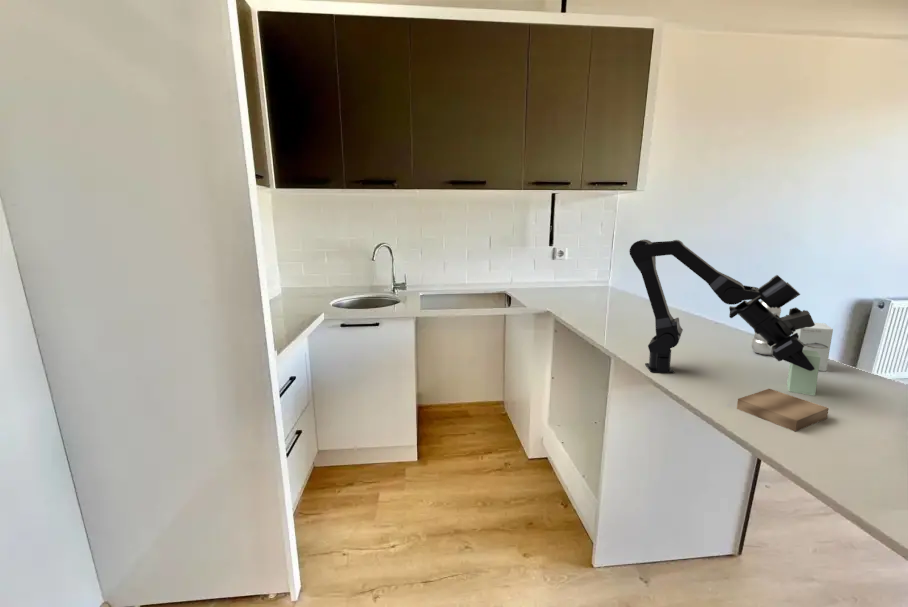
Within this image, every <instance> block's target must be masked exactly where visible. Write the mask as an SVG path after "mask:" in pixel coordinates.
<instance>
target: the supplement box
mask: <svg viewBox="0 0 908 607" xmlns="http://www.w3.org/2000/svg"><path fill="white" fill-rule="evenodd" d="M814 324H815V325H814V326H812V327H805V328H801V329H797V330H796V331H795V332H794V333H793V334H795V333H798V335H799V338H798V339H799V340H800V341H801V342H803V344H804V348H803V350H808V351H817V352H818V354H819V356H820V357H821V358H820V364H819V371H821V372H827V369H828V365H829V364H828V363H829V357H830V352H831V351H830V349H831V344H832V338H833V331H834V328H832V327H831V326H829V325H828V324H827V323H824V322H822V323H821V322H814ZM793 334H792V335H793ZM819 371H818V372H819Z"/></svg>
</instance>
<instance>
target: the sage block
mask: <svg viewBox="0 0 908 607" xmlns="http://www.w3.org/2000/svg"><path fill="white" fill-rule="evenodd" d="M802 352H803V353H804V354H805V356H806V357H807V359H808V360H809V361H810V363H811V364H812V365H813V367H814V368H815V369H814V370H812V371H809V370H807V369H804V368H802V367H799V366H797V365H795V364H792V363H790V362H789V366H788V372H787V373H788V374H787V381H786V387H787V390H788V391H789V392H790V393H795V394H803V395H810V396H816V390H817V384H818V377H819V376H818V375H819V364H820V358H821V357H820V356H819V354H818V352H817V351H808V350H803V351H802Z"/></svg>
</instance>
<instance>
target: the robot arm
mask: <svg viewBox="0 0 908 607" xmlns="http://www.w3.org/2000/svg"><path fill="white" fill-rule="evenodd" d="M628 252H629V255H630V257H631V260H632V261H633V263H634V265H635V267H637V269H638V270H639V272H640V274H641V277H642V280H643V283H644V287H645V288H646V289H645V290H646V293H647V296H648V299H649V302H650V303H649V304H650V305H651V309H652V312H653V315H654V319H655V323H654V324H655V335H654V336H653V337H651V340H650V342H649V344H648V345H647V347H648V351H649V357H648V358H649V359H648V363H647V362H646V363H644V365H645V367H646V368H647V369H648V371H649V372H650V373H665V372H674V373H675V370H674V369H673V368H672V367H671V360H672V348H675V347H676V346H677V345H678V344H679V342H680V341H681V340H680V339H681V337H682V333H683V332H684V331H683V330H684V329H683V328H682V326H681V324H680V318H679V317H675V318H674V317H673V316H672V314H671V313H670V309H669V306H668V303H667V300H666V297H665V293H664V289H663V287H662V284H661V281H660V277H659V275H658V271H657V263H656V262H657V260H656V257H663V256H673V257H674V258H676V259H677V260H678V261H679V262H680V263H682V264H683V265H684V266H685V267H687V268H688V269H689V270H690V271H692V272H693V273H694V274H696V275H697V276H698V277H699V278H701V279H702V280H703V281H704V282H706V284H707V285H708V286H709V287H710V288H711V290H712V291H713V293H715V295H716V296H717V297H718V298H719V299H720V301H722V302H723V304H724V303H725V305H736V306H729V308H728V309H729V315H728V316H729V318H730V319H733V318H735V317H736V316H737V315H738V316H740V318H742V320H744V321H745V323H746V324H747V325H749V326H750V327H751V328H752V329H753V330H754V333H755V332H756V333H757V334H759V335H760V336H761V337H763V338H764V339H765V340H766V341H767V344H768V345H769V346H770V347H771V346H772V345H774V344H776V345H774V346H772V351H771V352H772V356H773V357H774V358H775V359H776V361H778V362H780V361H785V362H787V363H789V364H790V363H792V364H795V365H797V366H799V367H802V368H804V369H807V370H809V371H812V370H814V369H815V368H814V367H813V365H812V364H811V363H810V361H809V360H808V359H807V357H806V356H805V354H804V353H803V352H802V351H803V348H804V344H803V342H801V341H800V340H799V339H798V338H799V335H798V333H795V334H793V333H794V332H795V331H796V330H797V329H801V328H805V327H812V326H814V325H815V324H814V323H815V321H814V320H813V317H812V316H811V314H810V312H809V311H808V310H805V309H803V310H801V309H799V308H798V307H791V308H790V309H789V312H788V314H786V315H785V316H780V317H779V316H778V315H777V314H776V315H775V314H773V313H771V312H770V311H769V310H768V309H767V308H766V307H765V306H764V305H763V304H762V303H761V301H763V302H764V303H765V304H766V305H767V306H769V307H770V308H772V307H773V308H775V307H777V308H778V309H779V308H782V307H783V306H785V305H787V304H788V303H790V302H791V301H793V300H794V299H796V298H798V297H799V296H800V295H801V293H800V292H799V291H798V290H797V289H796V288H794V287H793V286H792V285H791V284H790V283H789V282H787V281H786V280H784V279H783V278H781V276H780V275H778V274H776V275H774V276H773V277H771V279H770V280H769V281H767V282H766V283H764V284H763V285H760V287H755V286H750V285H744V284H743V283H742V282H740V281H739V280H736V279H735V278H733V277H731V276H729V275H728V274H725V273H723V272H720V271H719V270H717V269H715V267H713V266H712V265H710V264H709V263H708V261H705V259H703V258H702V257H700V256H699V255H698V254H696V253H695V252H694V251H693V250H691V249H690V248H689V247H688V246H686V245H685V244H684V243H683V242H682V241H681V240H679V239H674V240H673V239H672V240H668V241H663V240H662V241H651V240H649V239H641V240H637V241H635V242H633V244H631V246H630V248H629V250H628ZM760 300H761V301H760ZM792 334H793V335H792Z"/></svg>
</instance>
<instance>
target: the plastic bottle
mask: <svg viewBox="0 0 908 607" xmlns="http://www.w3.org/2000/svg"><path fill="white" fill-rule="evenodd" d="M760 302H761V303H762V304H763V305H764V306H765V307H766V308H767V309H768V310H769V311H770V312H771V313H773V314H775V315H776V314H777V315H778V316H779V317H780V318H781V312H782V307H780V308H779V309H778V308H777V307H775V308H773V307H772V308H770V307H769V306H767V305H766V304H765V303H764V302H763V301H762V300H761V301H760ZM774 345H776V344H774ZM774 345H772V346H774ZM772 346H771V347H770V346H769V345H768V344H767V341H766V340H765V339H764V338H763V337H761V336H760V335H759V334H757V333H756V332H754V334H753V339H752V341H751V349H752V351H753V352H754V353H757V354H760V355H768V356H769V355H770V356H771V355H772V352H771V351H772ZM772 356H773V355H772Z"/></svg>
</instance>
